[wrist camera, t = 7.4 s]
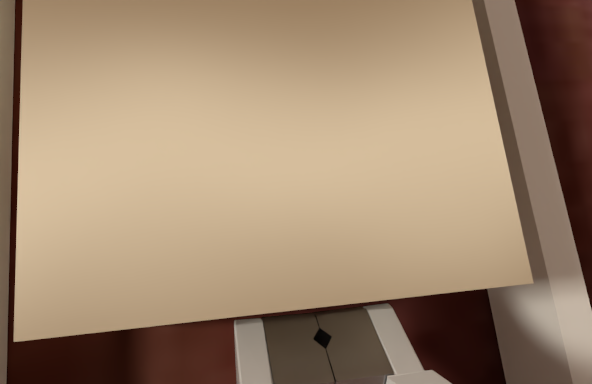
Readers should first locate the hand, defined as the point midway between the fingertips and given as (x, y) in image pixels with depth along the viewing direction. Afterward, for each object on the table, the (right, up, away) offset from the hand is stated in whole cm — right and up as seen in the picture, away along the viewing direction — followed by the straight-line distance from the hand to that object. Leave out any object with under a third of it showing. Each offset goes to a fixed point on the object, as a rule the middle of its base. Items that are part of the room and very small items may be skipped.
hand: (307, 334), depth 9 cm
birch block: (-2, +5, +6) cm, 8 cm away
